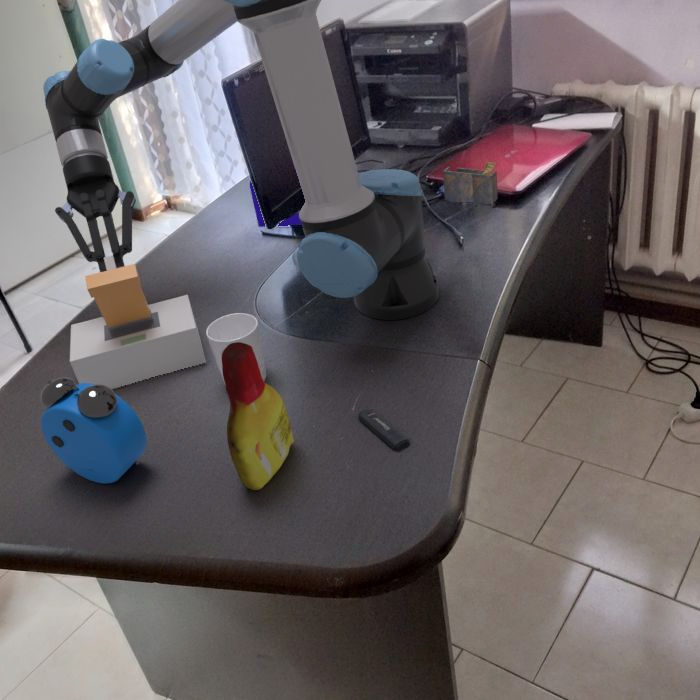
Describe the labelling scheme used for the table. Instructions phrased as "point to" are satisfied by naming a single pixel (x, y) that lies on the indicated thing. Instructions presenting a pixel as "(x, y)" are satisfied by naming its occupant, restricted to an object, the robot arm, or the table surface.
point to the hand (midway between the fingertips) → (119, 296)
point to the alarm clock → (91, 429)
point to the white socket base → (137, 346)
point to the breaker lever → (119, 296)
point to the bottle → (254, 418)
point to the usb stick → (383, 429)
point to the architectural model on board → (471, 185)
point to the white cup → (236, 337)
